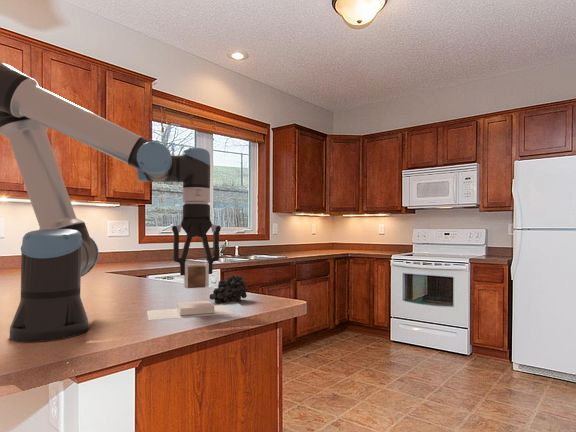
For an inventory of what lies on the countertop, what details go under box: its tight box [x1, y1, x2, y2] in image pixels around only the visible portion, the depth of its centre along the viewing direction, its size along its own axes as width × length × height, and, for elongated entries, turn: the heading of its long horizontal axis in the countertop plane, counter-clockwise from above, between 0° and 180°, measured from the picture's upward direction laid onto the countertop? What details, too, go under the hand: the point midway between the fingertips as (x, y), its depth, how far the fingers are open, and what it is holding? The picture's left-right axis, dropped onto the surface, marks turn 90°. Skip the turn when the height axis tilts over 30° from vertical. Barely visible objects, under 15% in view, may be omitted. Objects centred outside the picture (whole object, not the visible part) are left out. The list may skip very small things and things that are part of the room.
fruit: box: [209, 275, 249, 304], centre depth 127 cm, size 9×8×15 cm
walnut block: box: [187, 264, 206, 289], centre depth 111 cm, size 5×5×6 cm
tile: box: [176, 300, 215, 316], centre depth 109 cm, size 2×9×9 cm
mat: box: [146, 305, 234, 321], centre depth 108 cm, size 22×12×1 cm, turn 112°
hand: (196, 286), depth 109 cm, fingers closed on walnut block, 5 cm apart
